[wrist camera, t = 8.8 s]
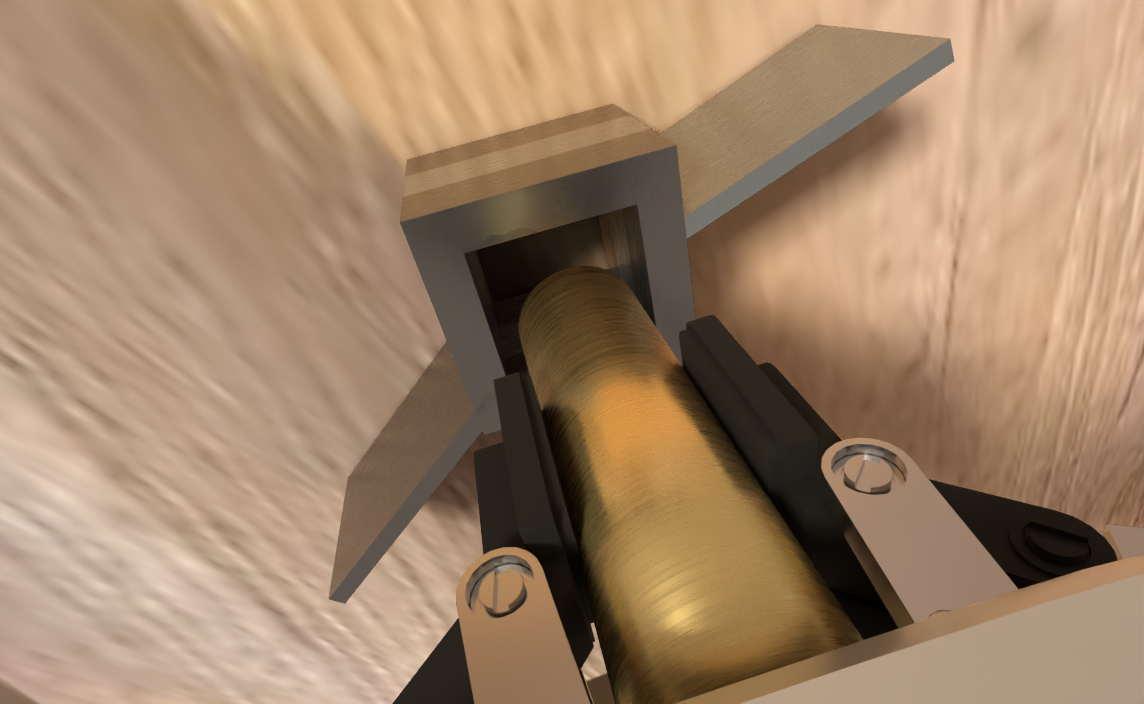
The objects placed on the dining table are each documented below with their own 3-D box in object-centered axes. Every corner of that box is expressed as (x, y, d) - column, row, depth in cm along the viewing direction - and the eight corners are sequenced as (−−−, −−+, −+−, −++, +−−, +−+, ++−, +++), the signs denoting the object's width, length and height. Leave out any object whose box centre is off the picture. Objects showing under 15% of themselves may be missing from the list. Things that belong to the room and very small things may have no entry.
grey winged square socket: (822, 23, 20) (957, 36, 15) (814, 345, 27) (902, 427, 22) (177, 196, 18) (85, 277, 13) (352, 485, 26) (334, 606, 21)
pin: (627, 250, 15) (1047, 812, 5) (645, 354, 16) (977, 920, 7) (503, 286, 15) (670, 947, 5) (535, 387, 16) (704, 1021, 6)
